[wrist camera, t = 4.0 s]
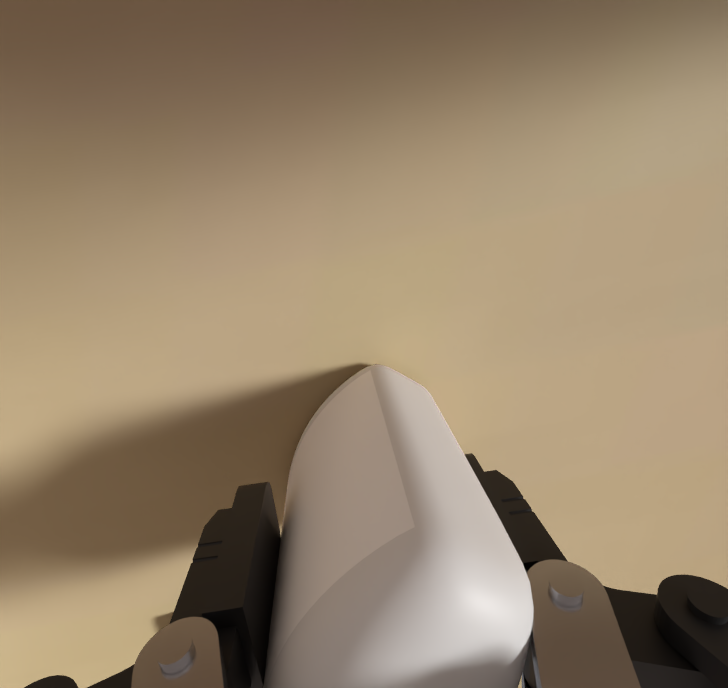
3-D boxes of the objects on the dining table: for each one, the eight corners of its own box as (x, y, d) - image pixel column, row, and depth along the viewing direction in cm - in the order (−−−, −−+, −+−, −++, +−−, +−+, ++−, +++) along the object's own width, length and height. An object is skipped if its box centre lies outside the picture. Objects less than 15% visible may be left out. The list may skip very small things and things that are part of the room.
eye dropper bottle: (243, 430, 13) (-236, 1815, 2) (401, 342, 13) (1022, 1446, 1) (316, 525, 15) (298, 1642, 3) (461, 448, 14) (1013, 1431, 3)
